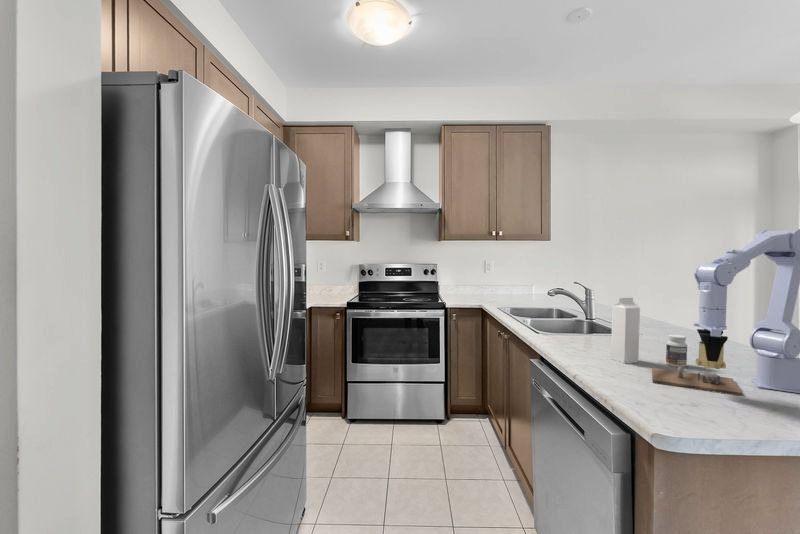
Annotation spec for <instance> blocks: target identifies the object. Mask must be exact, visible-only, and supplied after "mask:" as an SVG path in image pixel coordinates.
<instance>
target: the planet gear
mask: <svg viewBox="0 0 800 534" xmlns="http://www.w3.org/2000/svg"><path fill="white" fill-rule="evenodd" d="M724 350H725V344H724V345H723V347H722V349H721V353H720V356H719V359H718V361H717V362H714V361H708V360H707V357H706V351H705V345H704V342H703V341H701V340H700V341H698V358H695V364H696V366H697V367H698V366H701V367H704V368H706V369H715V370H720V369H723V370H725V369H726V368H727V364H726V362H725V361H724V352H725V351H724Z"/></svg>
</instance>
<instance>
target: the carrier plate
mask: <svg viewBox="0 0 800 534" xmlns="http://www.w3.org/2000/svg"><path fill="white" fill-rule="evenodd" d="M651 376H652V379H651V380H652V384H660V385H665V386H672V387H679V386H680V387H681V388H685V387H687V389H692V388H693V389H694V390H699V389H701V391H706V390H709V391H708V392H712V391H715V392H714V393H719V392H721V394H726V393H727V394H728V395H734V396H739V395H740V396H741V397H742V395H743V392H742V390H741V389H740V387H739V386H738V385H737V383H736V382H735V380H734V379H733V378H731V377H724V376H720V375H718V374H716V373H714V372H713V373H712V372H709V371H708V372H707V371H705V372H703V371H698V372H697V373H694V372H687V371H684V367H677V370H671V369H665V368H664V369H663V368H656V367H651ZM680 387H679V388H680ZM727 394H726V395H727Z"/></svg>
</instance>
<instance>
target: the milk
mask: <svg viewBox="0 0 800 534" xmlns="http://www.w3.org/2000/svg"><path fill="white" fill-rule="evenodd" d="M640 313H641V308H640V306H639V305H638V304H636V303H635V302H634V297H632V296H630V297H619V298H618V302H616V303H615V304H613V305H612V309H611V343H610V345H611V346H610V360H613V361H615V362H619V363H621V364H635V363H639V355H640V353H639V351H640V349H639V348H640V322H641V321H640Z"/></svg>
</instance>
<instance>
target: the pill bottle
mask: <svg viewBox="0 0 800 534" xmlns="http://www.w3.org/2000/svg"><path fill="white" fill-rule="evenodd" d="M686 338H687V337H686V336H685V335H682V334H669V335H668V341H667V342H666V347H665V349H666V351H665V353H666V355H665V363H666V365H668V366H670V367H675V368H678V367H683V368H685V367H687V361H688V344H687V343H686V340H687V339H686Z"/></svg>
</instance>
